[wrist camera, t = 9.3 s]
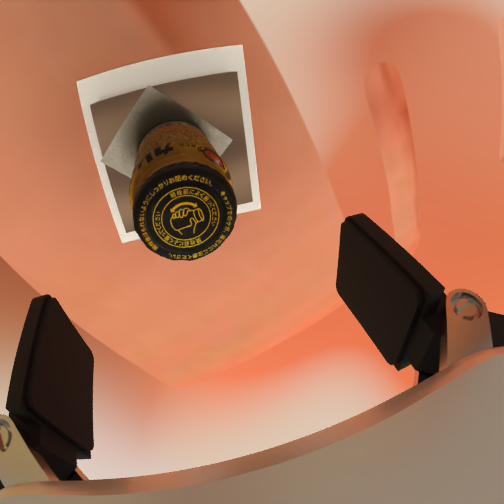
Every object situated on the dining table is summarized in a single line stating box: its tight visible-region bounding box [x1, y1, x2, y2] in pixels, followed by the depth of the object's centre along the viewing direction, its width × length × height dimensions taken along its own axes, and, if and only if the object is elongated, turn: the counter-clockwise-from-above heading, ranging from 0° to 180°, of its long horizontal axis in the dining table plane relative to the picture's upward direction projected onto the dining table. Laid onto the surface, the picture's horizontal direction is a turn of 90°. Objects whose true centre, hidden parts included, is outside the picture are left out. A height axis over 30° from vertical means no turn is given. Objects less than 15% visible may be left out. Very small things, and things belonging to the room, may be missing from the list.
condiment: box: [101, 85, 237, 261], centre depth 19 cm, size 7×8×12 cm
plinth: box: [90, 71, 253, 233], centre depth 25 cm, size 12×12×3 cm
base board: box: [76, 45, 261, 243], centre depth 27 cm, size 17×15×1 cm
